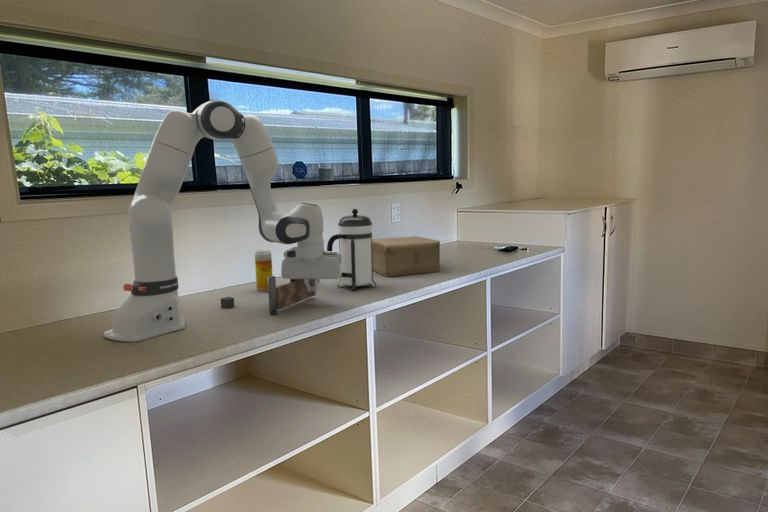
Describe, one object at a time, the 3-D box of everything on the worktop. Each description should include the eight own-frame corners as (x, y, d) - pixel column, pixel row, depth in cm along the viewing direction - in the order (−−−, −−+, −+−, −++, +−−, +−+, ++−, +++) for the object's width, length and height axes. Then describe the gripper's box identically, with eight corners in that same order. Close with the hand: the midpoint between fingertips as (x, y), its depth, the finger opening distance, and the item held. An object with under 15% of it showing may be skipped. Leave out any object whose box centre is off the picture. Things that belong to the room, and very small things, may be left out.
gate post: (274, 315, 168) (272, 277, 167) (267, 314, 170) (265, 277, 168) (278, 313, 171) (276, 276, 169) (272, 312, 172) (270, 275, 170)
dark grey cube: (234, 306, 181) (233, 297, 180) (227, 308, 178) (227, 299, 177) (227, 305, 182) (227, 296, 182) (221, 307, 179) (220, 298, 179)
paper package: (415, 263, 257) (415, 234, 255) (443, 272, 234) (443, 240, 231) (363, 268, 246) (362, 238, 244) (386, 278, 223) (385, 245, 221)
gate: (280, 309, 171) (278, 286, 170) (274, 309, 172) (273, 285, 171) (315, 295, 190) (314, 274, 189) (310, 294, 191) (309, 273, 190)
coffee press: (340, 282, 216) (338, 207, 211) (379, 283, 213) (378, 207, 208) (327, 292, 199) (324, 210, 194) (369, 293, 196) (368, 210, 191)
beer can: (269, 292, 201) (267, 252, 198) (254, 291, 202) (251, 252, 200) (275, 288, 207) (273, 249, 204) (260, 288, 208) (258, 249, 205)
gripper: (343, 249, 183) (344, 289, 185) (284, 249, 185) (285, 289, 187) (339, 252, 177) (341, 293, 179) (278, 252, 178) (280, 293, 181)
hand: (312, 291), depth 183 cm, fingers closed
